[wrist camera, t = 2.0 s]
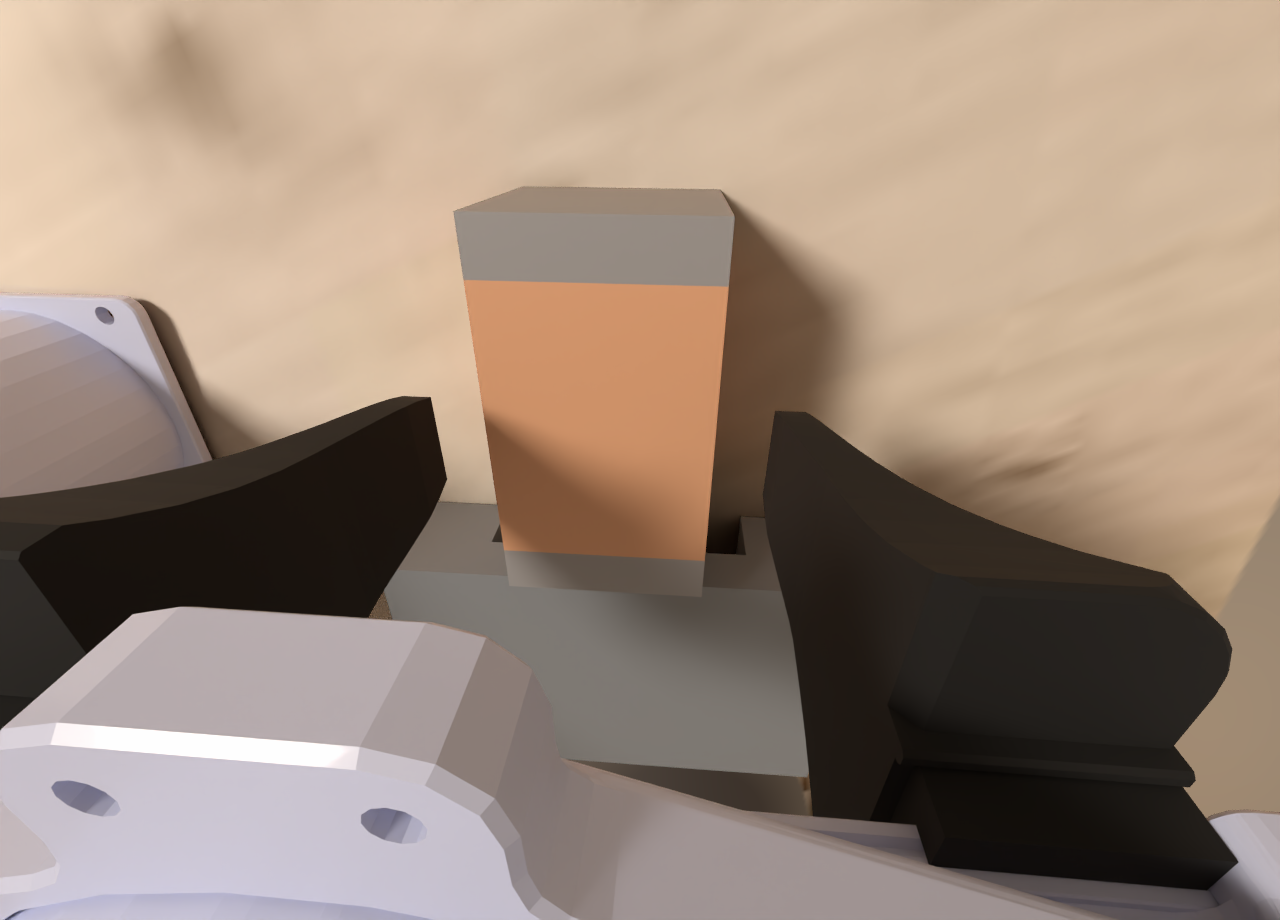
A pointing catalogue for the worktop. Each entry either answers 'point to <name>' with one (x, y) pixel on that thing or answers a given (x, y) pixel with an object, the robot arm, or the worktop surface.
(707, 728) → the stand
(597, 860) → the robot arm
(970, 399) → the worktop surface
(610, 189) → the block
